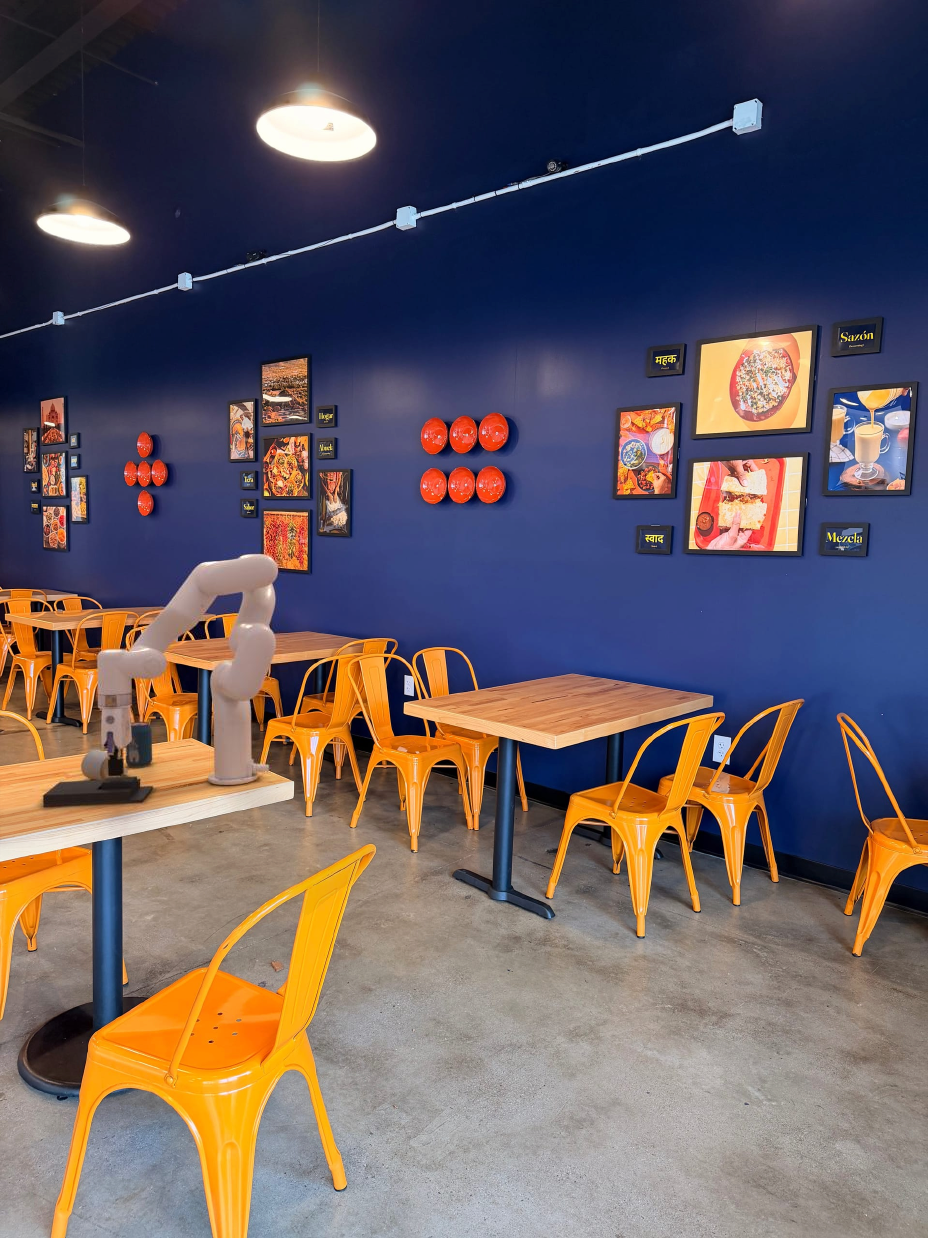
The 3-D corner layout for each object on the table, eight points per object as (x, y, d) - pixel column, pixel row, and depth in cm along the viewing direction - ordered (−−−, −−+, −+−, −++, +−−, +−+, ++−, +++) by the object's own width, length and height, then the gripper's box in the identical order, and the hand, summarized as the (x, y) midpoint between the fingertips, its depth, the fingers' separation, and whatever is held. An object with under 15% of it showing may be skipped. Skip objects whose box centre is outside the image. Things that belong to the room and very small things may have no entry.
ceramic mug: (101, 785, 205) (101, 755, 204) (80, 781, 208) (80, 752, 208) (135, 776, 214) (135, 748, 214) (115, 773, 218) (115, 745, 217)
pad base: (153, 788, 202) (152, 778, 202) (142, 802, 190) (142, 791, 190) (60, 793, 198) (59, 781, 198) (43, 807, 186) (42, 795, 186)
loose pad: (137, 790, 198) (137, 776, 197) (132, 795, 193) (132, 781, 193) (107, 791, 196) (107, 777, 196) (101, 797, 192) (101, 782, 191)
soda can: (150, 761, 231) (149, 720, 230) (154, 766, 225) (153, 724, 224) (124, 764, 227) (123, 722, 226) (127, 769, 221) (126, 726, 220)
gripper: (123, 705, 186) (124, 782, 188) (138, 695, 201) (139, 767, 202) (89, 705, 185) (90, 783, 186) (106, 696, 200) (107, 768, 201)
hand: (116, 775), depth 194 cm, fingers closed
